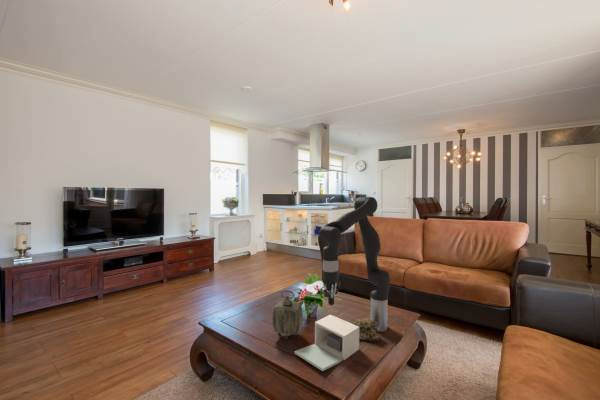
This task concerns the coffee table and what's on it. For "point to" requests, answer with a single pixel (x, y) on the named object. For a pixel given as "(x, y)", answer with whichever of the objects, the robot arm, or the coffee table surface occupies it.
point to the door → (318, 357)
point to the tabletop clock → (287, 316)
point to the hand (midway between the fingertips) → (331, 304)
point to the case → (337, 336)
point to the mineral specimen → (367, 329)
